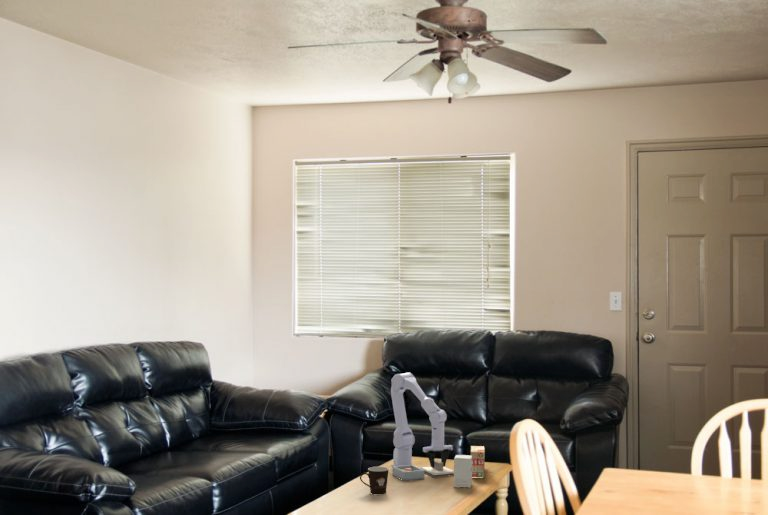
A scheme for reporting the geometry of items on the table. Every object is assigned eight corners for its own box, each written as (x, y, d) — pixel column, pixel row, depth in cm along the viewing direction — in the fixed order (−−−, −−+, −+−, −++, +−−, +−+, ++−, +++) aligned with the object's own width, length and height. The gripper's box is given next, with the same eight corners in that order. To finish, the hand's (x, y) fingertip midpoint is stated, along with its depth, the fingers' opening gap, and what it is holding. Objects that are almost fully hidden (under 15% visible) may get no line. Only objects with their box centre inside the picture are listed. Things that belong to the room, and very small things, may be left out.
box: (392, 475, 403) (392, 466, 403) (412, 473, 408) (412, 464, 408) (404, 481, 392) (404, 472, 393) (424, 479, 397) (424, 470, 397)
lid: (421, 470, 412) (421, 459, 412) (441, 468, 416) (441, 457, 416) (433, 476, 401) (434, 465, 401) (454, 474, 405) (454, 463, 405)
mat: (419, 471, 412) (419, 470, 412) (442, 468, 417) (442, 468, 417) (433, 477, 400) (433, 476, 400) (456, 475, 405) (456, 474, 405)
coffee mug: (389, 490, 376) (389, 466, 376) (387, 495, 367) (387, 471, 368) (362, 489, 377) (362, 466, 377) (359, 495, 369) (359, 470, 369)
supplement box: (470, 488, 381) (470, 458, 381) (453, 487, 382) (453, 457, 383) (472, 484, 388) (472, 455, 388) (455, 483, 390) (455, 454, 390)
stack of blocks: (470, 468, 420) (470, 441, 420) (484, 468, 419) (484, 442, 419) (470, 478, 399) (470, 451, 399) (484, 479, 398) (484, 451, 398)
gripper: (427, 439, 402) (427, 469, 402) (456, 437, 408) (455, 467, 408) (420, 436, 408) (420, 466, 408) (448, 434, 414) (448, 463, 414)
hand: (437, 466), depth 409 cm, fingers open, 5 cm apart
